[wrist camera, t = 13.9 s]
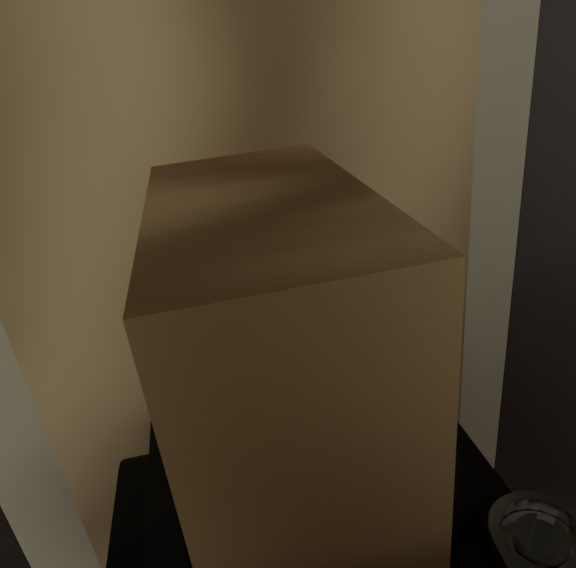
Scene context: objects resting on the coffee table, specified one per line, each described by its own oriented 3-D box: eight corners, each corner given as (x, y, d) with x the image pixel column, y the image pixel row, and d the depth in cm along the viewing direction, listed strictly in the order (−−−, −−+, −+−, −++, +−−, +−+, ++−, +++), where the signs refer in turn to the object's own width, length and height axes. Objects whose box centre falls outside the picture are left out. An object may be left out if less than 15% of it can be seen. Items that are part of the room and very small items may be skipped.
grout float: (454, -108, 10) (1002, -413, 3) (434, 537, 18) (584, 819, 11) (-118, -62, 8) (-1090, -425, 2) (138, 614, 16) (115, 986, 10)
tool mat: (543, -223, 10) (563, -238, 10) (477, 531, 20) (486, 545, 19) (-315, -181, 8) (-349, -197, 8) (78, 638, 18) (75, 656, 17)
